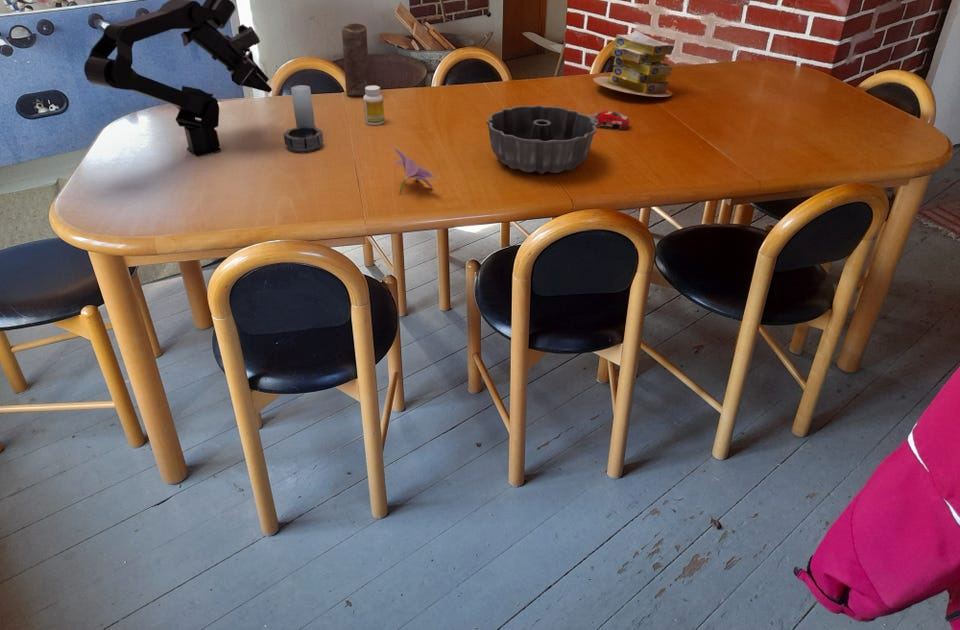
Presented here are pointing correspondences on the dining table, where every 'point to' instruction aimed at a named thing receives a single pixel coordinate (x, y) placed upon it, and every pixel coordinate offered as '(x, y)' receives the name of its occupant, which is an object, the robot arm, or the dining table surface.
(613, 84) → the stacked boxes on plate
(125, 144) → the dining table surface
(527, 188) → the dining table surface
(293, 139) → the socket collar
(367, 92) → the supplement bottle
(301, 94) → the peg
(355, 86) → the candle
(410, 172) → the lily
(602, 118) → the race car
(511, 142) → the bundt pan
